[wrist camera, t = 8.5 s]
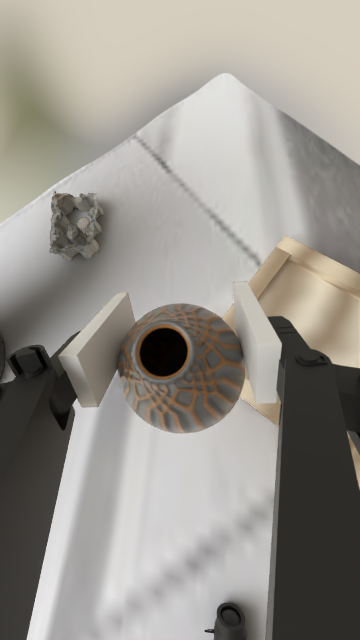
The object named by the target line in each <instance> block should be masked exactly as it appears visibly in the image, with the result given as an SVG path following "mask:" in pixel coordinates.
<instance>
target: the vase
mask: <svg viewBox="0 0 360 640" xmlns="http://www.w3.org/2000/svg"><path fill="white" fill-rule="evenodd" d="M118 377H119V382H120V386H121V389H122V392H123V394H124V396H125V398H126V400H127V402H128V404H129V405H130V406H131V408H132V409H133V410H134V411H135V412H136V414H137V415H139V416H140V417H141V418H142V419H143V420H144V421H146V422H147V423H149V424H150V425H152V426H154V427H156V428H159V429H161V430H164V431H167V432H172V433H192V432H197V431H201V430H204V429H206V428H209V427H211V426H213V425H214V424H216V423H218V422H219V421H220V420H222V419H223V418H224V417H225V416H226V415H227V414H228V413H229V412H230V411H231V409H232V408H233V407H234V405H235V404H236V402H237V400H238V398H239V396H240V394H241V391H242V388H243V385H244V380H245V362H244V358H243V353H242V348H241V344H240V342H239V340H238V338H237V336H236V334H235V333H234V331H233V330H232V329H231V328H230V326H229V325H228V324H227V323H226V322H225V321H224V320H223V319H222V318H220V317H219V316H218V315H216V314H215V313H213V312H211V311H209V310H207V309H205V308H203V307H200V306H196V305H191V304H170V305H166V306H162V307H159V308H157V309H154V310H152V311H150V312H149V313H147V314H146V315H144V316H143V317H142V318H140V319H139V320H138V321H137V322H136V323H135V324H134V325H133V326H132V328H131V329H130V330H129V332H128V333H127V335H126V337H125V339H124V341H123V343H122V346H121V349H120V353H119V359H118Z"/></svg>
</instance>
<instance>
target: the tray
mask: <svg viewBox="0 0 360 640" xmlns="http://www.w3.org/2000/svg"><path fill="white" fill-rule="evenodd" d="M248 285H249V286H250V288H251V290H252V292H253V294H254V295H255V297H256V299H257V301H258V302H259V304H260V306H261V308H262V309H263V311H264V313H265V315H266V316H267V317H270V316H283V317H284V318H286V319H288V320H290V322H291V323H292V324H293V326H294V328H296V330H297V331H298V333H299V334H300V335H301V337H302V338H303V339H304V341H305V342H306V343H307V345H308V346H309V347H310V349H314V350H317V351H320V352H322V353H324V354H325V355H326V356H328V357H329V358H330V360H331V362H332V363H333V364H337V365H342V366H349V367H355V368H360V274H359V273H357V272H356V271H354V270H352V269H350V268H348V267H346V266H344V265H342V264H340V263H338V262H336V261H334V260H332V259H330V258H328V257H326V256H324V255H322V254H321V253H319V252H317V251H315V250H313V249H311V248H309V247H307V246H305V245H303V244H301V243H299V242H297V241H295V240H293V239H291V238H289V237H288V236H286V235H285V236H284V237H283V238H282V240H281V241H280V242H279V244H278V245H277V246H276V248H275V249H274V250H273V252H272V253H271V254H270V256H269V257H268V258H267V260H266V261H265V262H264V264H263V265H262V266H261V268H260V269H259V270H258V272H257V273H256V274H255V275H254V277H253V278H252V279H251V281H250V282H249V283H248ZM222 319H223V320H224V321H225V322H226V323H227V324H228V325H229V326H230V328H231V329H232V330H233V331H234V333H235V334H236V336H237V338H238V335H237V332H236V328H235V324H234V303H233V305H232V306H231V307H230V308H229V310H228V311H227V312H226V314H225V315H224V316H223V318H222ZM238 340H239V339H238ZM239 397H240V398H242V399H243V400H244V401H246V402H247V403H248V404H249V405H251V406H252V407H253V408H255V409H256V410H257V411H258V412H260V413H261V414H262V415H264V416H265V417H266V418H267V419H269V420H270V421H271V422H273V423H274V424H275V425H276V426H278V427H279V425H278V424H279V414H280V405H281V401H280V398H279V396H278V393H277V400H276V403H255V399H254V395H253V391H252V388H251V384H250V380H249V376H248V373H247V369H246V365H245V380H244V385H243V388H242V391H241V394H240V396H239ZM347 434H348V432H347ZM348 438H349V443H350V448H351V452H352V457H353V461H354V466H355V470H356V475H357V480H358V484H359V489H360V455H359V453H358V451H357V449H356V447H355V445H354V444H353V442H352V440H351V438H350V436H349V434H348Z"/></svg>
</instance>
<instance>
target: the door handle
mask: <svg viewBox="0 0 360 640" xmlns="http://www.w3.org/2000/svg"><path fill="white" fill-rule="evenodd" d="M210 630H212V631H210ZM205 632H208V633H214V640H247V632H246V628H245V618H244V615H243V613H242V611H241V610H240V609H239V608H238V607H237V606H236V605H234V604H231V603H223V604H221V605H220V606H219V607H218V610H217V619H216V622H215V627H214V629H208V630H205Z"/></svg>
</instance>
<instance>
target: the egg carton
mask: <svg viewBox="0 0 360 640" xmlns="http://www.w3.org/2000/svg"><path fill="white" fill-rule="evenodd" d="M53 195H54V196H53V197H52V203H51V209H52V212H53V216H52V218H51V222H52V225H51V231H50V241H51V249H50V253H51V252H52V253H54V254H60V255H61V256H62V257H63V258H64V259H66V260H72V258H73V256H74V255H75V254H77V253H81V254H82V255H83V256H84V257H85V258H86V259H88V258H91V257H92V255H93V254H94V253H95V252H97V251H99V249H100V246H99V244H98V243H97V242H96V241H95V240H94V237H95V236H96V235H97V234H99V233H101V229H102V228H101V226H100V225H99V224H98V222H97V221H96V219H97V218H98V217H99V216H102V215H103V209H102V208H101V206H100V205H99V203H98V202H97V194H92V193H88V195H83V194H80V197H77V198H74V197H73V196H72V195H70V194H67V193H63V194H56V192H54V193H53ZM91 206H93V207H92V208H91ZM73 208H78V209H79V210H80V211H81V212H87V211H89V210H90V211H89V213H88V215H89V216H90V217H91V219H92V221H91V224H90V225H89V219H88V218H86V217H83V218H81V219H79V220H78V222H77V225H71V223H70V221H69V220H68V218H67V217H66V216H67V214H69V213H71V212H72V210H73ZM93 221H94V222H93ZM86 227H87V228H86ZM84 228H85V233H86V235H88V238H87V237H86V235H85V234H84V233H83V232H82V231H81V230H80V229H84ZM66 230H67V237H68V238H69V240H70V241H71V242H72V243H73V244H75V245H73V244H68V238H67V237H66V236H65V235H64V231H66ZM87 241H88V244H87V245H86V246H84V245H85V244H86V243H87ZM62 248H63V249H62Z"/></svg>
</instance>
